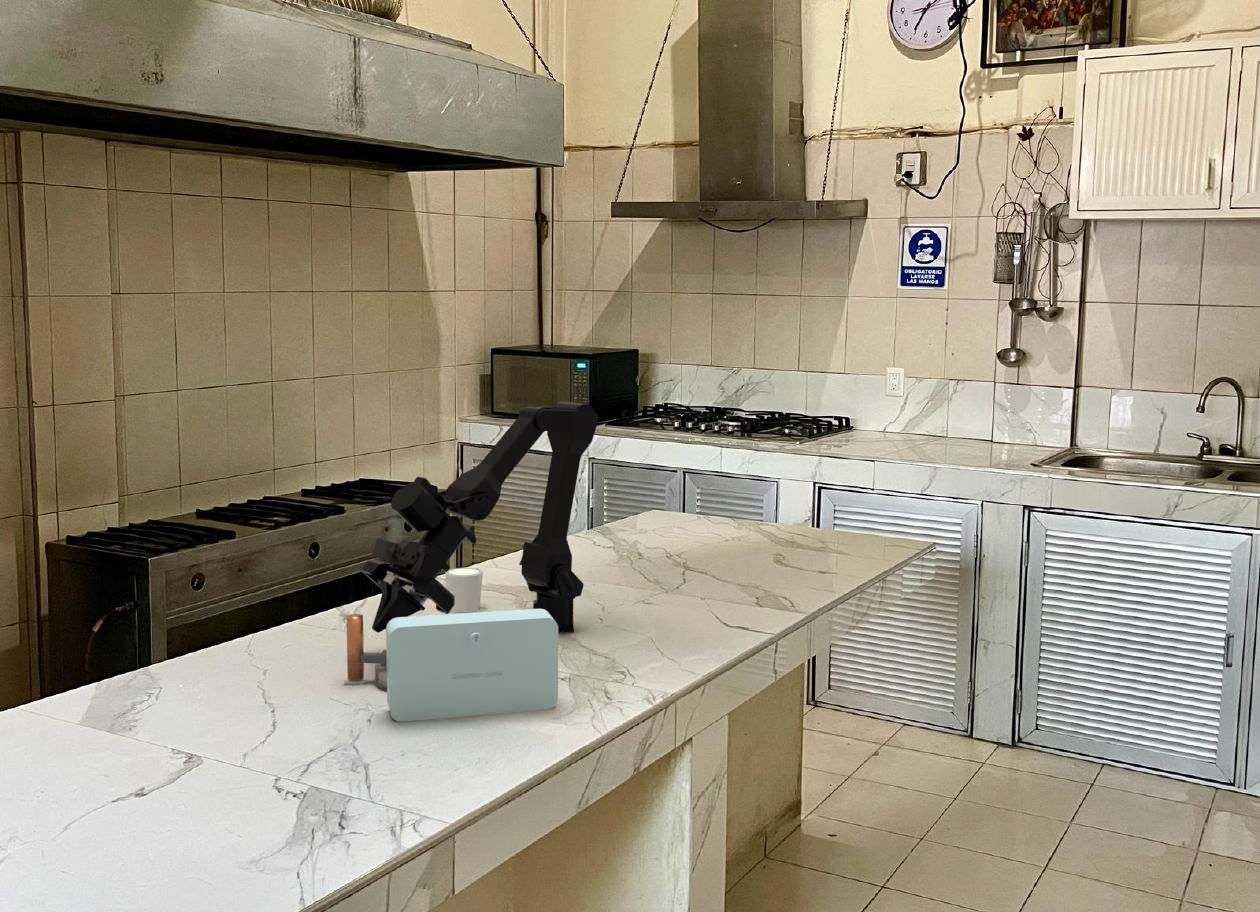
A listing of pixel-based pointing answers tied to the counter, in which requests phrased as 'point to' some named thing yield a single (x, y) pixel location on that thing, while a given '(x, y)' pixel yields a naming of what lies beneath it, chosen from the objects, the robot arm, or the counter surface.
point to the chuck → (381, 677)
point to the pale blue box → (471, 664)
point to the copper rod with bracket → (359, 649)
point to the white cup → (465, 588)
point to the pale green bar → (354, 682)
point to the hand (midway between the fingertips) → (374, 630)
